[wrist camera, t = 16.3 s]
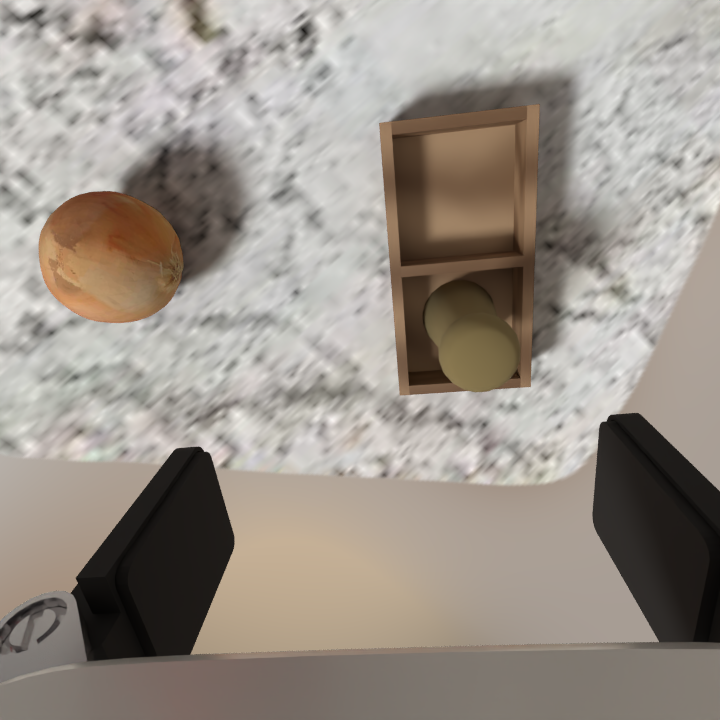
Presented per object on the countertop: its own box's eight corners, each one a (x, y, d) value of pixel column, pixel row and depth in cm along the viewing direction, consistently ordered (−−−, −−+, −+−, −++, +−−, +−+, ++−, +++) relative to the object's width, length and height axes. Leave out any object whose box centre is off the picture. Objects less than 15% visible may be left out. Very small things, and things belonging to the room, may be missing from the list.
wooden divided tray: (380, 130, 35) (379, 122, 31) (522, 113, 34) (539, 104, 30) (398, 376, 42) (399, 395, 38) (516, 367, 41) (530, 386, 37)
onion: (212, 304, 41) (159, 339, 31) (104, 307, 41) (22, 342, 32) (193, 188, 37) (128, 188, 28) (77, 193, 38) (-24, 195, 29)
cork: (473, 265, 37) (506, 295, 27) (507, 327, 39) (550, 377, 28) (409, 304, 39) (416, 346, 28) (444, 361, 40) (463, 421, 30)
